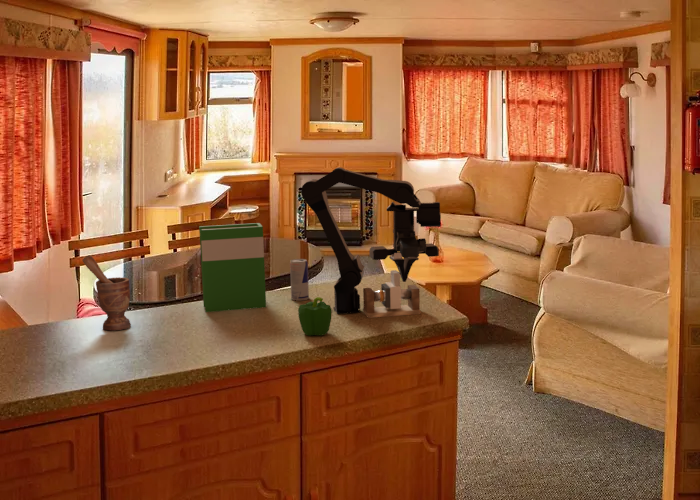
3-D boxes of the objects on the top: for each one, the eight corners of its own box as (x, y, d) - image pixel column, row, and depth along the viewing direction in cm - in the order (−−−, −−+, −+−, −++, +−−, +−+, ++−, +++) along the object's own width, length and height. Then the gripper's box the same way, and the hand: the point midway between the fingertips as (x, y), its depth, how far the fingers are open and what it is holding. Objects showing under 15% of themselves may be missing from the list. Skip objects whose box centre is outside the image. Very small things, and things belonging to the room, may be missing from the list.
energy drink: (312, 297, 237) (311, 259, 235) (302, 301, 233) (300, 262, 230) (298, 295, 240) (296, 258, 238) (287, 299, 235) (286, 261, 233)
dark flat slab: (386, 308, 215) (385, 288, 214) (381, 303, 220) (381, 283, 219) (390, 307, 215) (390, 288, 214) (385, 302, 220) (385, 283, 219)
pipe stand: (368, 317, 214) (367, 293, 212) (362, 311, 220) (362, 287, 219) (420, 313, 216) (420, 289, 215) (413, 307, 223) (413, 284, 222)
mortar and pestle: (87, 334, 203) (80, 260, 200) (88, 325, 211) (82, 254, 208) (132, 330, 206) (127, 256, 203) (132, 321, 214) (127, 251, 211)
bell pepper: (294, 332, 201) (293, 294, 200) (323, 327, 205) (322, 291, 203) (306, 340, 194) (305, 301, 192) (336, 335, 197) (335, 297, 195)
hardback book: (205, 312, 223) (200, 230, 219) (203, 306, 230) (199, 226, 226) (266, 307, 227) (262, 226, 223) (262, 301, 234) (259, 223, 230)
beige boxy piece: (390, 309, 215) (390, 274, 213) (385, 303, 221) (384, 270, 219) (401, 308, 215) (400, 273, 214) (395, 302, 221) (395, 269, 220)
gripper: (377, 233, 205) (378, 290, 208) (445, 229, 209) (444, 285, 211) (368, 226, 216) (369, 281, 219) (432, 223, 219) (432, 277, 222)
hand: (404, 281), depth 217 cm, fingers closed
